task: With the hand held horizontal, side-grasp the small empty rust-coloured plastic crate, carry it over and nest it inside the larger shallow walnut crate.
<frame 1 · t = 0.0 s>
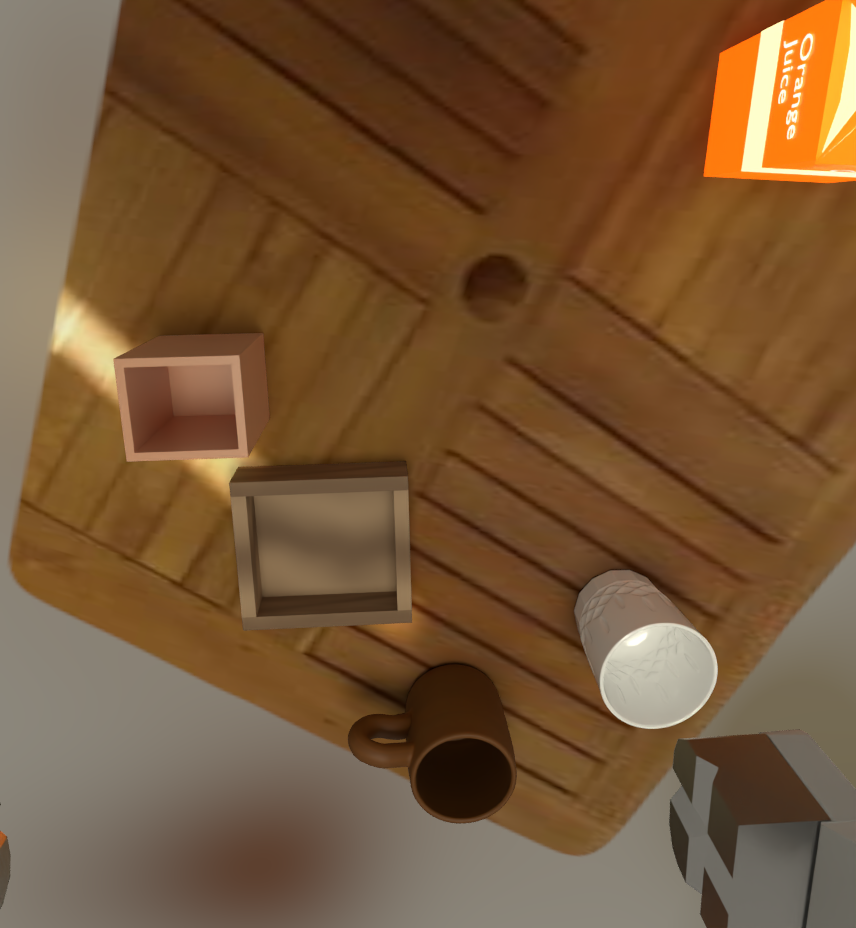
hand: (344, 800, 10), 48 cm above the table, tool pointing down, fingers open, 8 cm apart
small crate: (215, 377, 56), on the table
mug: (425, 695, 64), on the table
orange juice: (774, 120, 54), on the table
white cup: (615, 607, 63), on the table
large crate: (327, 534, 60), on the table
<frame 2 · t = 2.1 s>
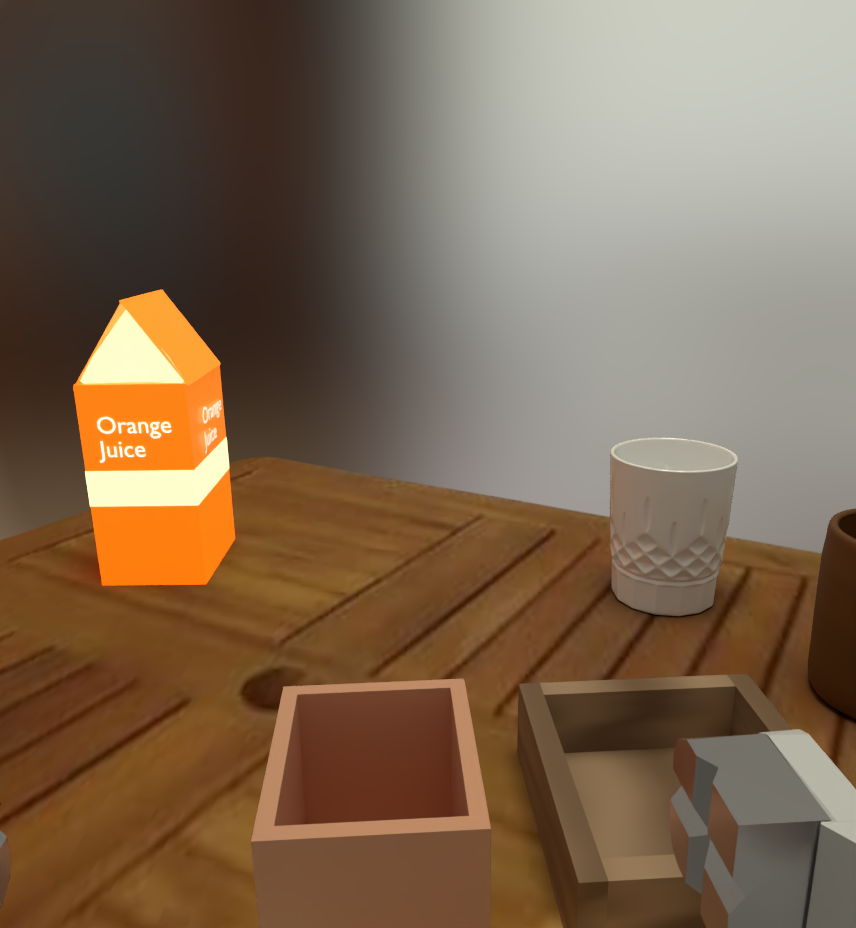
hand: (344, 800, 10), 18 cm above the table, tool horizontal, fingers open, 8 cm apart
orange juice: (173, 562, 62), on the table
white cup: (662, 597, 55), on the table
large crate: (671, 840, 34), on the table
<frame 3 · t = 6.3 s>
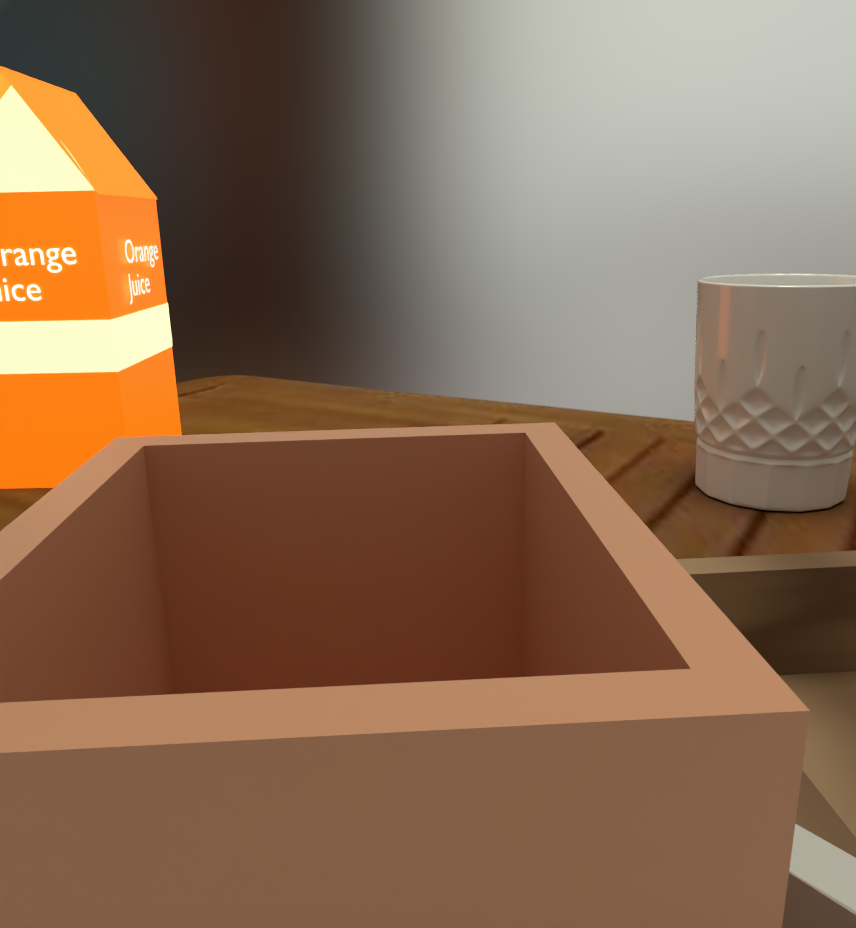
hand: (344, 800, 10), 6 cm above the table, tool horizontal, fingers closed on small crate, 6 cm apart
orange juice: (95, 467, 46), on the table
white cup: (767, 493, 39), on the table
when the fingers open (8 cm above the table, at t = 11.0 s): small crate drops 2 cm, resting on large crate.
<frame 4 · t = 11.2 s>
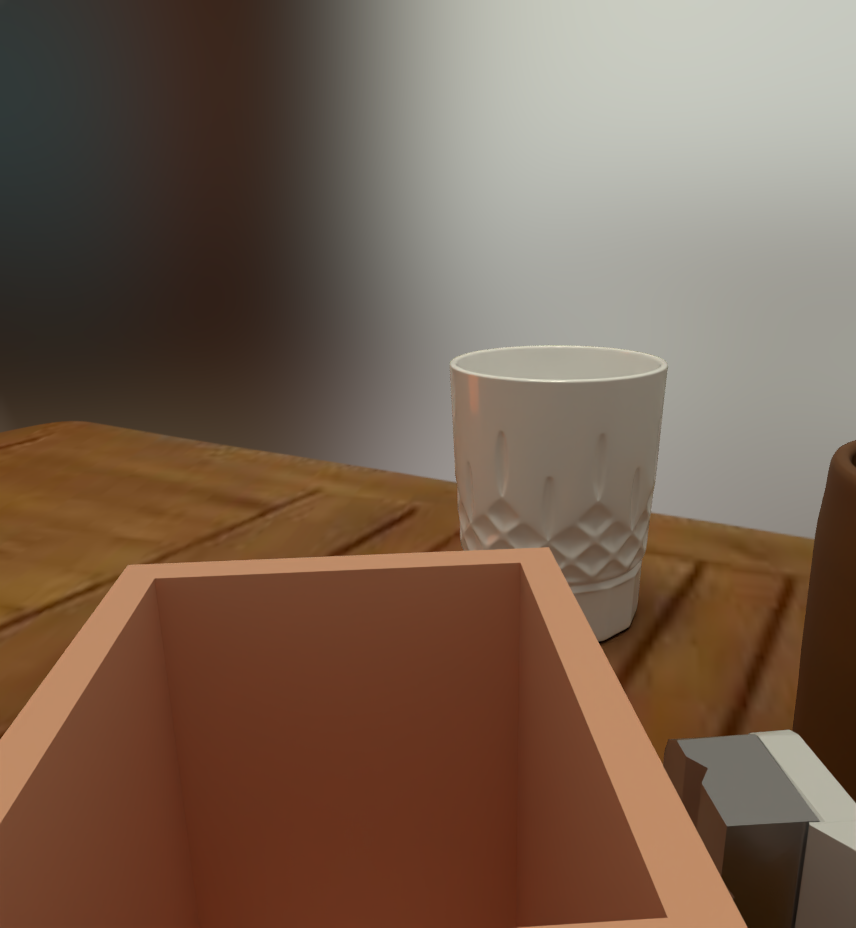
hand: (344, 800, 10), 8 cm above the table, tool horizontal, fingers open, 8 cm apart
white cup: (550, 611, 33), on the table
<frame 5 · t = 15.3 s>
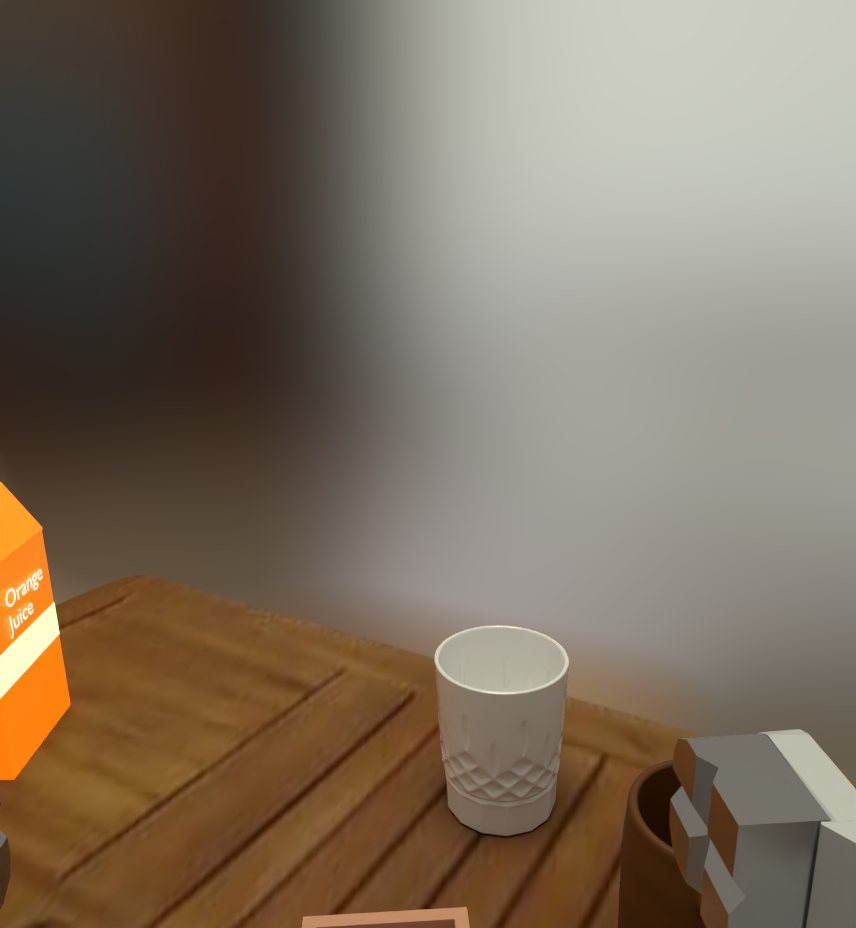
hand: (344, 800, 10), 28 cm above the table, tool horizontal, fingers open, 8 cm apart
white cup: (500, 801, 51), on the table
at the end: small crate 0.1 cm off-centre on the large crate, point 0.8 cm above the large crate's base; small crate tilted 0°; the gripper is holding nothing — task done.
